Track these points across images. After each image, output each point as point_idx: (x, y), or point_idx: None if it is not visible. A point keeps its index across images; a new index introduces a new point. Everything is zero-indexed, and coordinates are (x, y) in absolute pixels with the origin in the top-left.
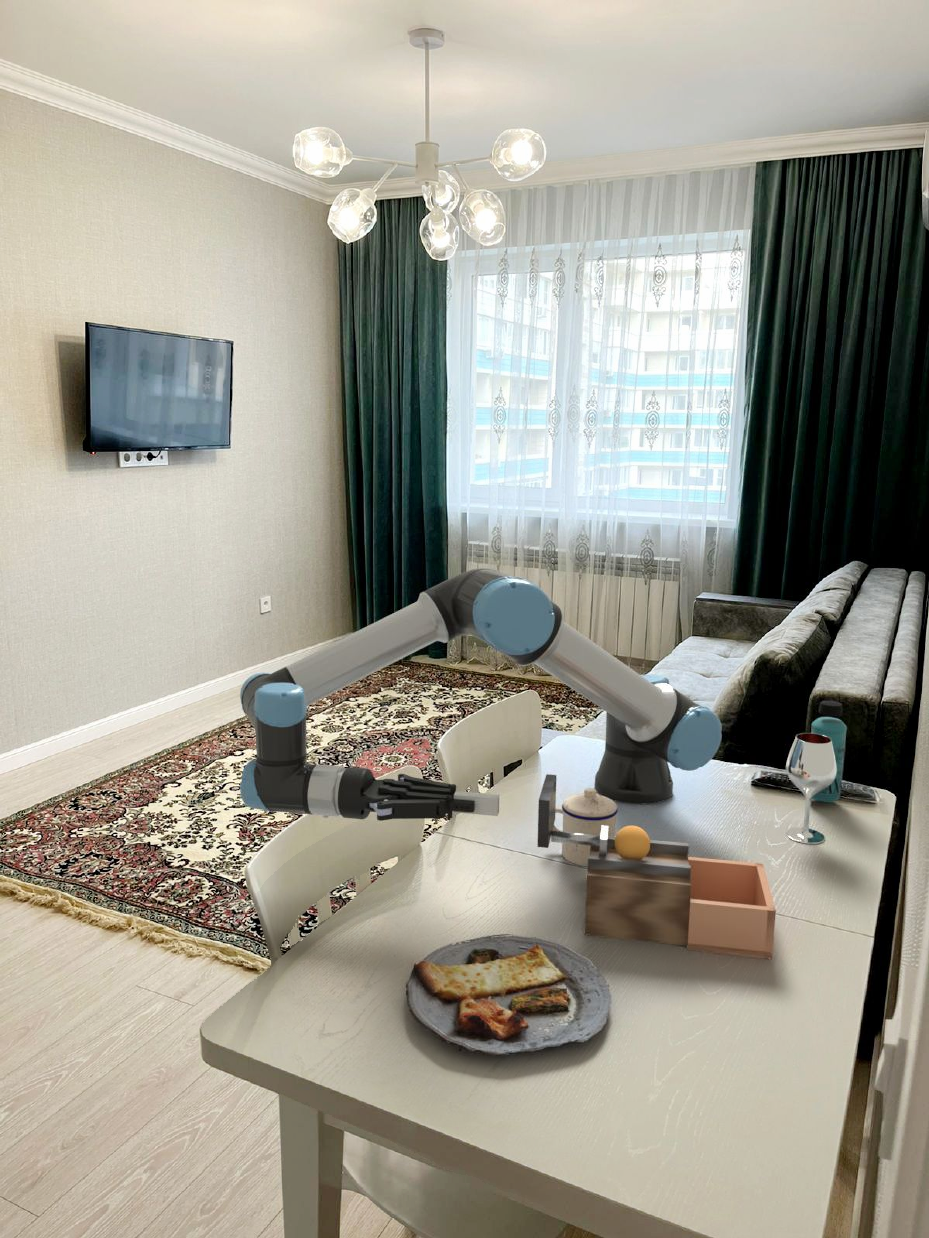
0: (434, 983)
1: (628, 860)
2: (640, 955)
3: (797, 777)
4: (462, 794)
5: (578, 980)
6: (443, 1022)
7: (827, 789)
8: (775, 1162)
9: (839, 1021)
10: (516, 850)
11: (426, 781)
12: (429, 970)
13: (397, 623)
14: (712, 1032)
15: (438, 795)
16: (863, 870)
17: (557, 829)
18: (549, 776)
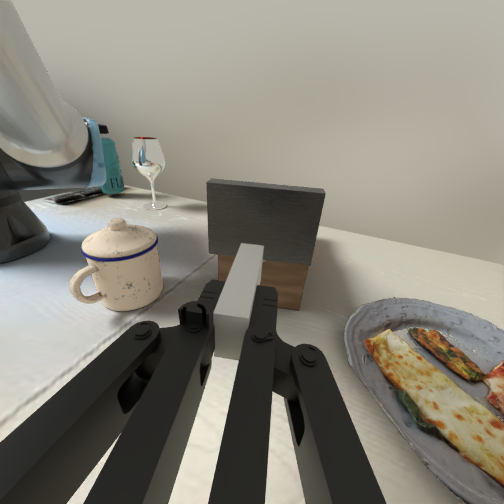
0: None
1: None
2: (319, 282)
3: (155, 166)
4: (243, 298)
5: (389, 318)
6: None
7: (121, 183)
8: (478, 266)
9: (347, 233)
10: (75, 362)
11: (19, 454)
12: None
13: None
14: (390, 267)
15: (250, 371)
16: (201, 202)
17: (88, 296)
18: (217, 181)
